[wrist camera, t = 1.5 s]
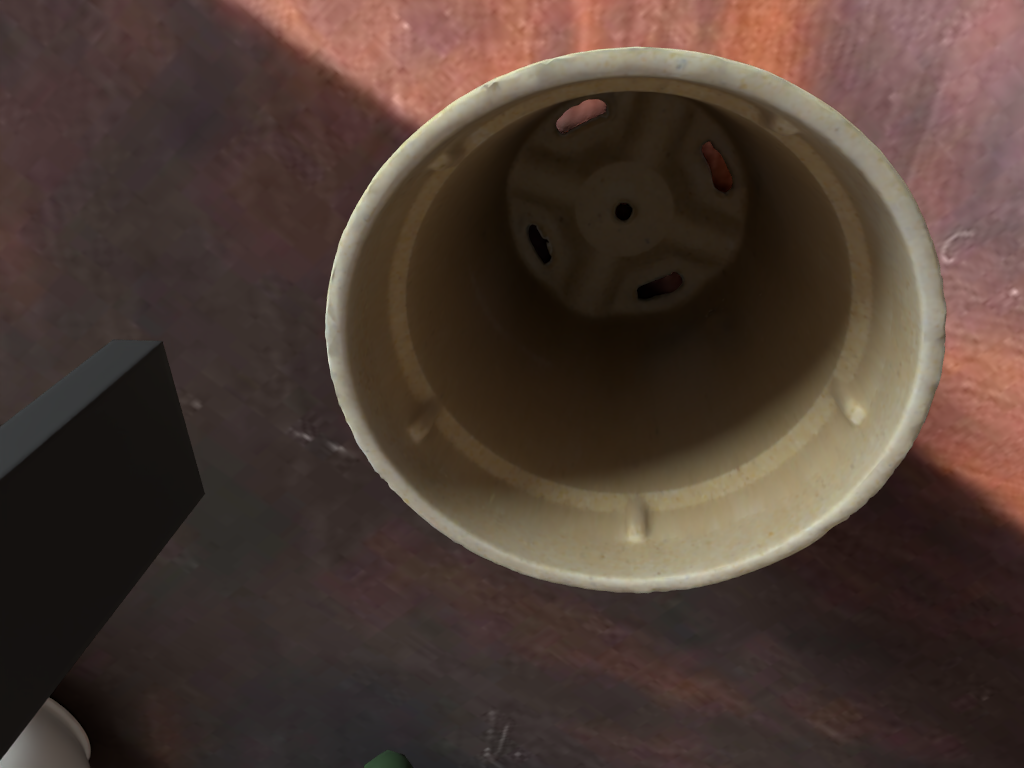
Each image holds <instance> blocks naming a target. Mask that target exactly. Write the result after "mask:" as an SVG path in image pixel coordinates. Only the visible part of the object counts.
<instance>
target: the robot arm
mask: <svg viewBox="0 0 1024 768" xmlns="http://www.w3.org/2000/svg"><path fill="white" fill-rule="evenodd" d="M204 494H205V493H204V489H203V486H202V482H201V478H200V475H199V471H198V468H197V464H196V460H195V457H194V453H193V450H192V446H191V442H190V439H189V435H188V432H187V428H186V424H185V421H184V417H183V414H182V410H181V406H180V403H179V399H178V396H177V392H176V388H175V385H174V381H173V378H172V374H171V370H170V367H169V363H168V360H167V356H166V352H165V349H164V345H163V342H162V341H140V340H112V341H111V342H110V343H108V344H107V345H106V346H104V347H103V348H102V349H100V350H99V351H98V352H97V353H95V354H94V355H93V356H91V357H90V358H89V359H87V360H86V361H85V362H84V363H82V364H81V365H80V366H78V367H77V368H76V369H74V370H73V371H72V372H71V373H69V374H68V375H67V376H65V377H64V378H63V379H61V380H60V381H59V382H58V383H56V384H55V385H54V386H52V387H51V388H50V389H48V390H47V391H46V392H45V393H43V394H42V395H41V396H39V397H38V398H37V399H36V400H34V401H33V402H32V403H30V404H29V405H28V406H26V407H25V408H24V409H23V410H21V411H20V412H19V413H17V414H16V415H15V416H13V417H12V418H11V419H10V420H8V421H7V422H6V423H4V424H3V425H2V426H0V760H1V759H2V758H3V756H4V755H5V754H6V753H7V751H8V750H9V749H10V747H11V746H12V745H13V743H14V742H15V741H16V739H17V738H18V737H19V736H20V734H21V733H22V732H23V730H24V729H25V728H26V726H27V725H28V724H29V723H30V721H31V720H32V719H33V717H34V716H35V715H36V713H37V712H38V711H39V709H40V708H41V707H42V706H43V704H44V703H45V702H46V700H47V699H48V698H49V696H50V695H51V694H52V693H53V691H54V690H55V689H56V687H57V686H58V685H59V683H60V682H61V681H62V679H63V678H64V677H65V676H66V674H67V673H68V672H69V670H70V669H71V668H72V666H73V665H74V664H75V663H76V661H77V660H78V659H79V657H80V656H81V655H82V653H83V652H84V651H85V649H86V648H87V647H88V646H89V644H90V643H91V642H92V640H93V639H94V638H95V636H96V635H97V634H98V633H99V631H100V630H101V629H102V627H103V626H104V625H105V623H106V622H107V621H108V619H109V618H110V617H111V616H112V614H113V613H114V612H115V610H116V609H117V608H118V606H119V605H120V604H121V603H122V601H123V600H124V599H125V597H126V596H127V595H128V593H129V592H130V591H131V589H132V588H133V587H134V586H135V584H136V583H137V582H138V580H139V579H140V578H141V576H142V575H143V574H144V573H145V571H146V570H147V569H148V567H149V566H150V565H151V563H152V562H153V561H154V559H155V558H156V557H157V556H158V554H159V553H160V552H161V550H162V549H163V548H164V546H165V545H166V544H167V543H168V541H169V540H170V539H171V537H172V536H173V535H174V533H175V532H176V531H177V529H178V528H179V527H180V526H181V524H182V523H183V522H184V520H185V519H186V518H187V516H188V515H189V514H190V513H191V511H192V510H193V509H194V507H195V506H196V505H197V503H198V502H199V501H200V499H201V498H202V497H203V496H204Z"/></svg>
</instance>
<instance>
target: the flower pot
mask: <svg viewBox="0 0 1024 768" xmlns="http://www.w3.org/2000/svg"><path fill="white" fill-rule="evenodd" d="M588 99H600V100H602V101H604V102H605V104H606V105H607V106H606V112H605V113H604V114H601V115H599V116H597V117H595V118H592V119H590V120H588V121H587V122H585V123H582V124H580V125H579V126H577V127H575V128H573V129H571V130H569V131H568V132H567V133H565V134H562V133H561V132H559V130H558V129H557V127H556V122H557V120H558V119H559V118H560V117H561V116H562V115H563V113H564V112H565V111H567V110H568V109H569V108H571V107H573V106H576V105H579V104H580V103H581V102H583V101H585V100H588ZM708 141H711V144H712V146H713V148H714V149H716V150H717V151H718V152H719V153H720V154H721V156H722V158H723V160H724V161H725V163H726V166H727V168H728V170H729V172H730V174H731V176H732V187H731V188H730V189H729V190H728V191H727V192H726V193H725V192H721V191H719V190H718V189H716V188H715V186H714V184H713V180H712V174H711V170H710V167H709V165H708V163H707V161H706V159H705V157H704V155H703V153H702V146H703V145H704V144H705V143H706V142H708ZM620 203H626V204H628V205H630V206H631V207H632V214H631V216H630V218H629V219H628V220H620V219H619V218H617V217H616V215H615V210H616V207H617V206H618V205H619V204H620ZM532 224H533V225H536V226H537V230H538V231H539V233H540V235H541V237H542V238H543V239H547V240H548V241H549V243H548V242H546V243H547V249H548V251H549V254H550V255H551V259H550V261H549V262H547V263H543V261H542V259H541V258H540V257H539V255H538V254H537V252H536V250H535V248H534V246H533V245H532V243H531V240H530V238H529V233H528V232H529V227H530V226H531V225H532ZM672 272H677V273H678V274H679V275H680V276H681V278H682V284H681V285H680V287H679V288H678V289H677V290H675V291H673V292H671V293H667V294H661V295H655V296H653V297H651V298H649V299H642V298H638V293H637V289H638V287H640V286H642V285H644V284H647V283H650V282H652V281H654V280H657V279H660V278H663V277H665V276H667V275H671V273H672ZM945 322H946V302H945V298H944V292H943V278H942V276H941V274H940V265H939V261H938V257H937V254H936V251H935V247H934V244H933V241H932V239H931V236H930V234H929V231H928V228H927V225H926V222H925V220H924V218H923V216H922V214H921V212H920V210H919V208H918V205H917V203H916V201H915V199H914V198H913V196H912V194H911V192H910V190H909V189H908V187H907V186H906V184H905V182H904V181H903V179H902V178H901V177H900V175H899V174H898V173H897V172H896V170H895V169H894V168H893V166H892V165H891V164H890V162H889V161H888V160H887V158H886V157H885V156H884V154H883V153H882V152H881V151H880V150H879V149H878V148H877V147H876V146H875V145H874V144H873V143H872V142H871V141H870V140H869V139H868V138H867V137H866V136H865V135H864V134H863V133H862V132H861V131H860V130H859V129H858V128H857V127H855V126H854V125H853V124H852V123H850V122H849V121H848V120H847V119H846V118H845V117H844V116H842V115H841V114H840V113H839V112H837V111H836V110H835V109H833V108H832V107H830V106H829V105H827V104H826V103H824V102H823V101H821V100H820V99H818V98H817V97H815V96H813V95H812V94H810V93H808V92H807V91H805V90H803V89H801V88H799V87H798V86H796V85H794V84H792V83H790V82H788V81H786V80H784V79H782V78H780V77H778V76H776V75H774V74H772V73H770V72H768V71H765V70H762V69H759V68H757V67H754V66H751V65H748V64H744V63H741V62H737V61H733V60H730V59H726V58H722V57H718V56H714V55H710V54H705V53H699V52H693V51H686V50H679V49H666V48H652V47H626V48H611V49H599V50H592V51H586V52H579V53H573V54H569V55H564V56H560V57H556V58H552V59H548V60H544V61H540V62H537V63H534V64H531V65H528V66H526V67H523V68H520V69H517V70H515V71H513V72H510V73H508V74H505V75H503V76H500V77H497V78H495V79H493V80H491V81H489V82H487V83H485V84H483V85H482V86H480V87H478V88H476V89H474V90H473V91H471V92H469V93H468V94H466V95H464V96H462V97H461V98H459V99H457V100H456V101H454V102H453V103H451V104H450V105H449V106H447V107H446V108H445V109H443V110H442V111H441V112H439V113H438V114H437V115H435V116H434V117H433V118H432V119H430V120H429V121H428V122H427V123H426V124H424V125H423V126H422V127H421V128H419V129H418V130H417V131H416V132H415V133H414V134H413V135H412V136H411V137H410V138H408V139H407V140H406V141H405V142H404V143H403V144H402V145H401V146H400V147H399V149H398V150H397V151H396V152H395V153H394V154H393V155H392V156H391V157H390V158H389V159H388V161H387V162H386V163H385V164H384V165H383V166H382V168H381V169H380V170H379V171H378V173H377V174H376V175H375V177H374V178H373V180H372V181H371V183H370V184H369V186H368V188H367V189H366V191H365V192H364V194H363V196H362V197H361V199H360V201H359V202H358V204H357V206H356V208H355V210H354V212H353V213H352V215H351V218H350V220H349V222H348V225H347V227H346V228H345V230H344V232H343V234H342V237H341V239H340V242H339V246H338V250H337V254H336V257H335V260H334V264H333V269H332V273H331V278H330V283H329V289H328V296H327V308H326V330H325V337H326V341H327V352H328V361H329V366H330V372H331V378H332V380H333V382H334V386H335V391H336V395H337V398H338V400H339V405H340V406H341V408H342V411H343V413H344V415H345V418H346V421H347V423H348V424H349V426H350V428H351V430H352V432H353V434H354V437H355V439H356V442H357V444H358V445H359V447H360V448H361V449H362V451H363V452H364V453H365V455H366V456H367V458H368V461H369V462H370V463H371V464H372V466H373V468H374V470H375V471H376V472H377V473H379V474H380V476H381V478H383V479H385V480H386V481H387V482H388V484H389V486H390V488H391V489H392V490H394V491H395V492H396V493H397V494H398V495H399V496H400V497H401V498H402V499H403V501H404V502H405V503H406V504H408V505H409V506H410V507H411V508H412V509H413V510H414V511H415V512H416V513H417V514H419V515H420V516H421V517H422V518H423V519H425V520H426V521H427V522H428V523H429V524H431V525H432V526H433V527H434V528H436V529H437V530H439V531H440V532H442V533H443V534H444V535H446V536H447V537H449V538H450V539H451V540H453V541H454V542H455V543H459V544H462V545H463V546H464V547H465V548H466V549H468V550H470V551H472V552H473V553H475V554H477V555H479V556H481V557H484V558H486V559H488V560H491V561H493V562H494V563H495V564H497V565H502V566H505V567H507V568H510V569H512V570H513V571H517V572H519V573H521V574H524V575H528V576H531V577H534V578H537V579H541V580H546V581H550V582H553V583H559V584H564V585H568V586H573V587H581V588H585V589H593V590H599V591H604V590H605V591H612V592H634V593H650V592H653V591H662V592H665V591H670V590H685V589H691V588H694V587H701V586H705V585H711V584H715V583H719V582H721V581H727V580H729V579H731V578H735V577H739V576H741V575H743V574H746V573H749V572H753V571H755V570H757V569H760V568H763V567H765V566H768V565H770V564H773V563H775V562H777V561H779V560H781V559H784V558H786V557H788V556H790V555H792V554H794V553H796V552H798V551H800V550H802V549H804V548H806V547H808V546H809V545H811V544H812V543H813V542H815V541H816V540H818V539H819V538H821V537H822V536H823V535H824V534H825V533H826V532H827V531H829V530H830V529H831V528H832V527H834V526H835V525H837V524H839V523H841V522H843V521H845V520H847V519H848V518H849V516H850V515H852V514H853V513H854V512H857V511H858V509H860V508H861V507H862V506H863V505H865V504H866V503H867V501H868V499H869V498H871V497H873V496H874V495H875V494H876V493H877V492H878V491H879V490H880V489H881V488H882V486H883V485H884V484H885V483H886V481H887V480H888V479H889V477H890V476H891V475H892V474H893V471H894V470H895V468H897V467H898V466H899V464H900V463H901V461H902V460H903V459H904V458H905V456H906V454H907V452H908V451H909V449H910V448H911V447H912V445H913V442H914V441H915V439H916V438H917V436H918V434H919V432H920V430H921V427H922V425H923V423H924V422H925V420H926V417H927V414H928V412H929V409H930V406H931V403H932V400H933V397H934V394H935V391H936V389H937V386H938V384H939V381H940V377H941V373H942V365H943V359H944V353H945V346H944V343H945Z"/></svg>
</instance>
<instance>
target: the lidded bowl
mask: <svg viewBox="0 0 1024 768" xmlns="http://www.w3.org/2000/svg"><path fill="white" fill-rule="evenodd" d="M90 754H91V747H90V743H89V739H88V737H87V735H86V733H85V731H84V730H83V728H82V727H81V725H80V724H79V723H78V721H77V720H76V719H75V718H74V717H73V716H72V715H71V714H70V713H69V712H68V711H67V710H66V709H65V708H64V707H62V706H61V705H60V704H58V703H57V702H56V701H54V700H53V699H51V698H50V697H49V698H48V699H47V700H46V702H45V703H44V704H43V706H42V707H41V708H40V709H39V711H38V712H37V713H36V715H35V716H34V717H33V719H32V720H31V721H30V723H29V724H28V725H27V726H26V728H25V729H24V730H23V732H22V733H21V734H20V736H19V737H18V738H17V739H16V741H15V742H14V743H13V745H12V746H11V747H10V749H9V750H8V751H7V753H6V754H5V755H4V756H3V758H2V759H1V760H0V768H90V765H89V762H88V761H89V758H90Z"/></svg>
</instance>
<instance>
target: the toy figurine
mask: <svg viewBox="0 0 1024 768" xmlns="http://www.w3.org/2000/svg"><path fill="white" fill-rule="evenodd" d="M364 768H413V767H412V765H411V764H410V762H409V761H408V760H407V758H406V757H405V755H403V754H399V753H396V752H393V751H390V750H386V751H385V752H383V753H382V754H380V755H378V756H377V757H375V758H374V759H373V760H371V761H370V762H368V763H367V764H366V765H364Z"/></svg>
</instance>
